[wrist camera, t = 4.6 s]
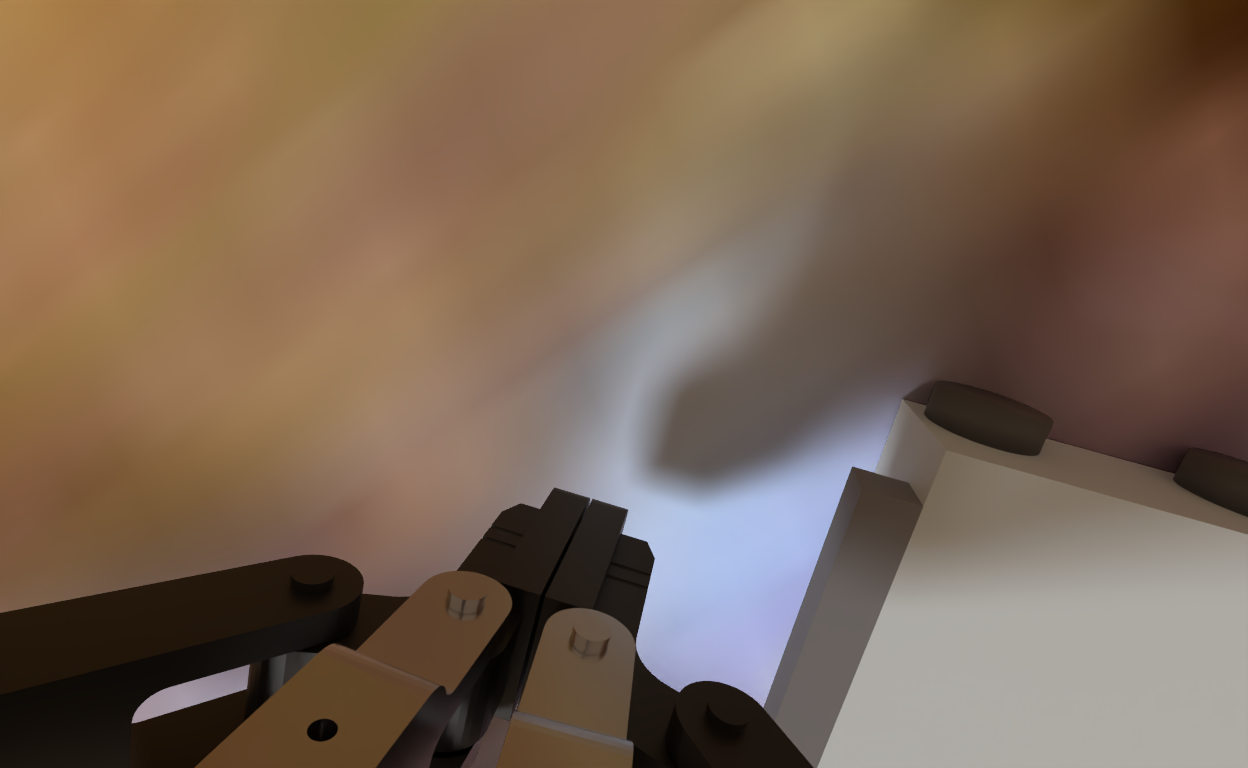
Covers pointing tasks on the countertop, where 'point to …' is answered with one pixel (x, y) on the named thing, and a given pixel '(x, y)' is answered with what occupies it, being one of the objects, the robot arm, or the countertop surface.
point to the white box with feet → (1022, 604)
